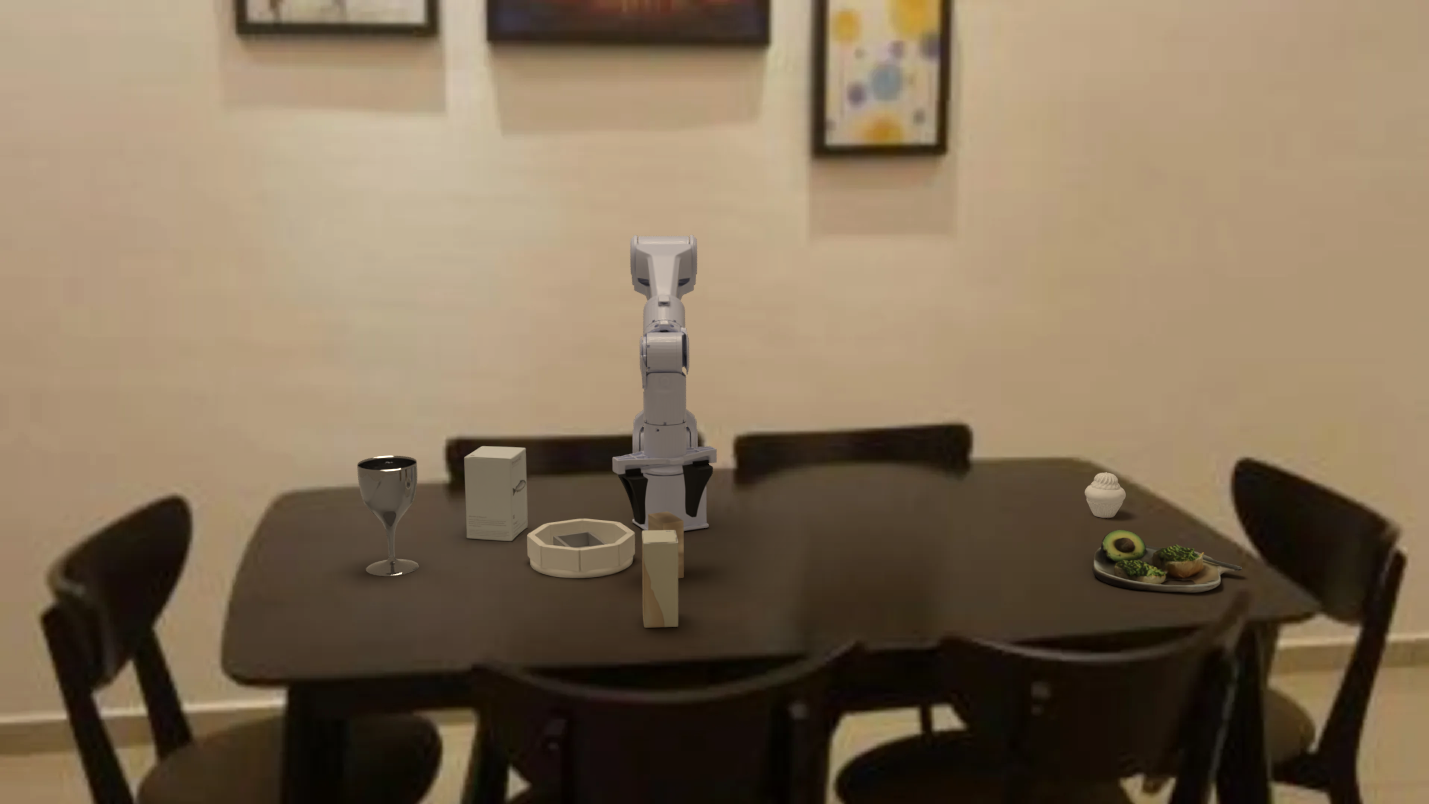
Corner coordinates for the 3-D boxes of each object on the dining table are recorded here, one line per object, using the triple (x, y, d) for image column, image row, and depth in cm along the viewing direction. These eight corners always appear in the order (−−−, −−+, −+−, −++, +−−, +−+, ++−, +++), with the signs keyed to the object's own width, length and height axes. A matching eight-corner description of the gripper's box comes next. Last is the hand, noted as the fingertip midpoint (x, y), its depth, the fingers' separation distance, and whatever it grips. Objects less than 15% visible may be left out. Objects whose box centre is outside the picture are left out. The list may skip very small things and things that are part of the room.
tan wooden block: (668, 566, 191) (668, 511, 189) (683, 577, 187) (683, 520, 185) (648, 569, 190) (648, 514, 188) (663, 580, 185) (663, 523, 184)
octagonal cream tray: (609, 540, 203) (609, 514, 202) (649, 568, 190) (648, 540, 189) (516, 553, 196) (515, 527, 196) (550, 584, 184) (549, 555, 183)
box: (642, 613, 173) (641, 529, 171) (676, 612, 173) (676, 528, 171) (643, 629, 168) (642, 542, 166) (679, 627, 168) (678, 541, 166)
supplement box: (513, 542, 202) (510, 458, 199) (465, 539, 203) (462, 456, 201) (529, 527, 209) (527, 446, 206) (483, 524, 210) (480, 444, 208)
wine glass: (432, 562, 193) (427, 458, 190) (402, 579, 186) (396, 472, 182) (383, 556, 195) (378, 453, 192) (351, 573, 188) (345, 467, 185)
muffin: (1081, 518, 214) (1083, 474, 212) (1086, 507, 219) (1088, 465, 218) (1122, 522, 212) (1125, 478, 210) (1126, 512, 217) (1129, 469, 216)
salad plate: (1237, 562, 194) (1240, 530, 193) (1245, 604, 177) (1248, 570, 176) (1095, 549, 200) (1097, 519, 199) (1089, 589, 183) (1091, 556, 182)
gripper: (626, 432, 177) (627, 533, 180) (726, 421, 183) (726, 519, 186) (605, 421, 183) (607, 519, 186) (703, 411, 190) (703, 506, 192)
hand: (665, 518), depth 186 cm, fingers open, 7 cm apart
